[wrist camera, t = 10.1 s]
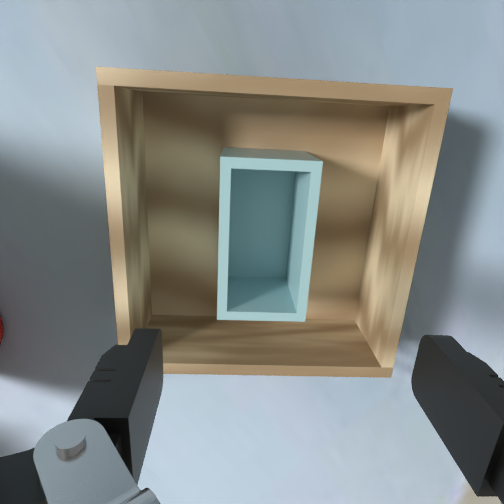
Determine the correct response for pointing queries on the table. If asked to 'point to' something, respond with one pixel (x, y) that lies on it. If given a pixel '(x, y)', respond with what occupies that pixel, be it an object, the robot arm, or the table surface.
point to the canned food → (1, 330)
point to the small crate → (266, 233)
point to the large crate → (207, 213)
